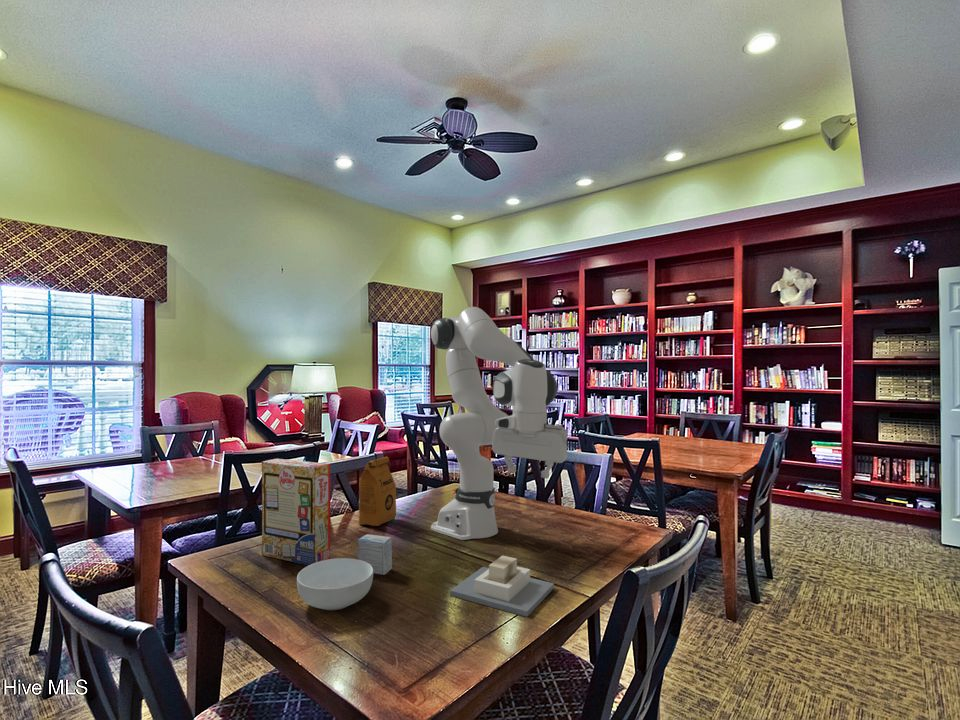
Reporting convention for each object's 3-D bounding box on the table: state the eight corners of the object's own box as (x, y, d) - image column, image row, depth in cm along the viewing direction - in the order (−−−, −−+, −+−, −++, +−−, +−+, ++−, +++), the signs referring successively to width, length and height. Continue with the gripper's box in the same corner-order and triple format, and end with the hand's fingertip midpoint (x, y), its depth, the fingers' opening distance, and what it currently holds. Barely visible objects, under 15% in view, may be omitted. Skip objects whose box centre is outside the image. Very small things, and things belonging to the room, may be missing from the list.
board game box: (331, 560, 140) (331, 463, 140) (315, 568, 134) (315, 467, 134) (277, 548, 148) (277, 457, 148) (259, 556, 143) (260, 461, 143)
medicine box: (392, 569, 134) (392, 536, 134) (383, 576, 130) (384, 542, 130) (366, 565, 137) (366, 533, 137) (357, 571, 132) (357, 538, 132)
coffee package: (400, 519, 176) (401, 456, 176) (377, 529, 165) (377, 463, 165) (378, 515, 181) (379, 454, 181) (354, 525, 170) (354, 460, 170)
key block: (502, 579, 125) (502, 555, 125) (516, 583, 123) (516, 558, 123) (488, 590, 119) (488, 565, 119) (503, 594, 117) (503, 568, 117)
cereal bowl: (299, 627, 105) (299, 593, 105) (294, 593, 120) (294, 564, 120) (380, 611, 111) (380, 579, 111) (365, 581, 127) (365, 553, 127)
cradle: (450, 595, 119) (450, 577, 119) (482, 571, 133) (482, 555, 133) (527, 616, 109) (527, 597, 109) (553, 588, 123) (553, 571, 123)
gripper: (571, 424, 128) (570, 478, 128) (501, 417, 138) (500, 467, 138) (562, 427, 122) (561, 484, 123) (489, 420, 133) (488, 472, 133)
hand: (528, 475), depth 131 cm, fingers open, 8 cm apart
